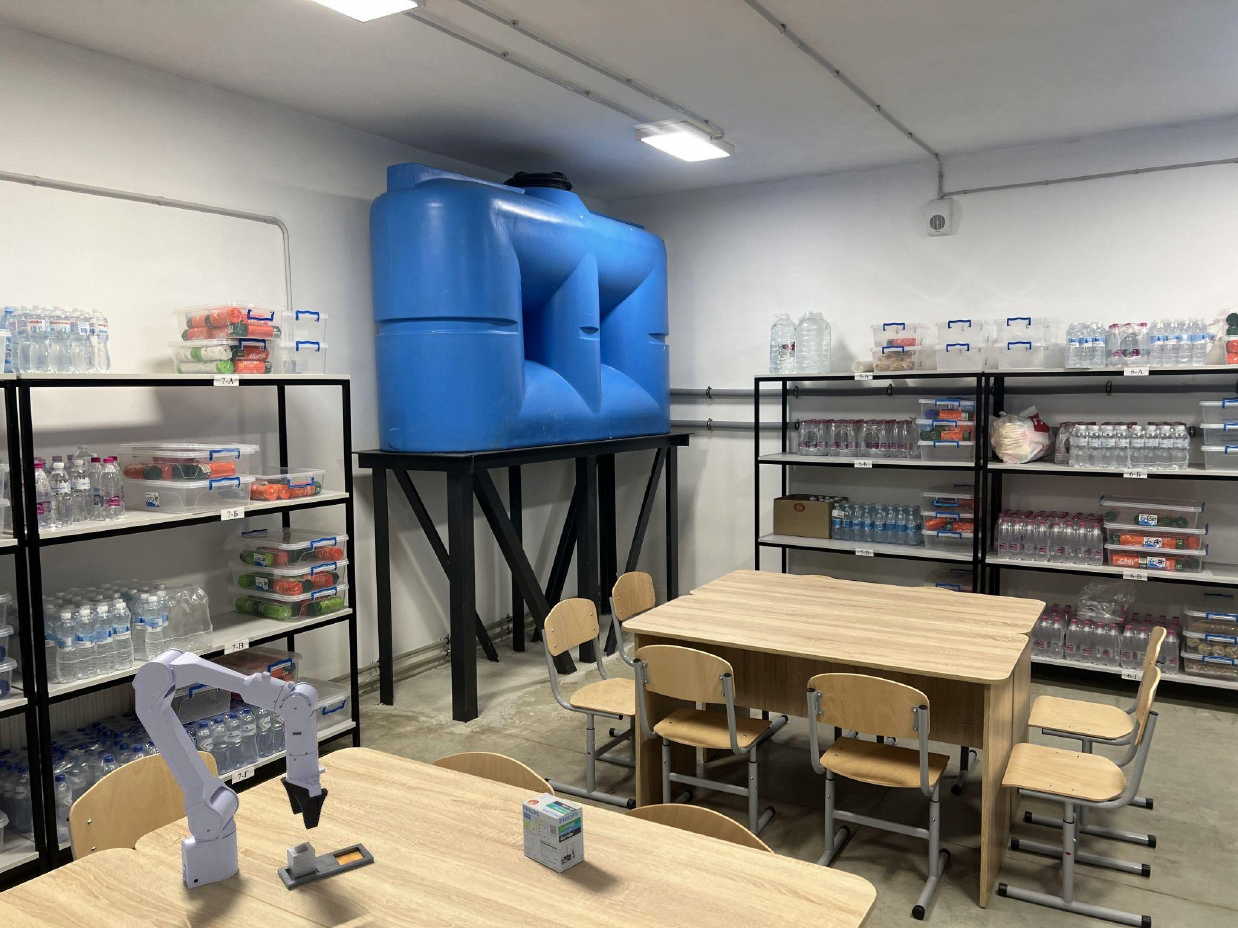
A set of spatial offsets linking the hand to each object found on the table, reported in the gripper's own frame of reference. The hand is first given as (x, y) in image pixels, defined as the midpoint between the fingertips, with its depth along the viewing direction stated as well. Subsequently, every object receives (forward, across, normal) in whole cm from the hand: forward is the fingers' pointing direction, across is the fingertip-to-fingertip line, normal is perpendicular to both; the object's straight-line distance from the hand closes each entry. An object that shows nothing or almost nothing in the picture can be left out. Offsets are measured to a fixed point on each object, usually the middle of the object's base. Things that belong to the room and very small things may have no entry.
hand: (305, 819), depth 170 cm
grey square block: (+9, -2, +2) cm, 10 cm away
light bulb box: (+10, -25, -39) cm, 48 cm away
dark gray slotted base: (+10, -2, -3) cm, 11 cm away
